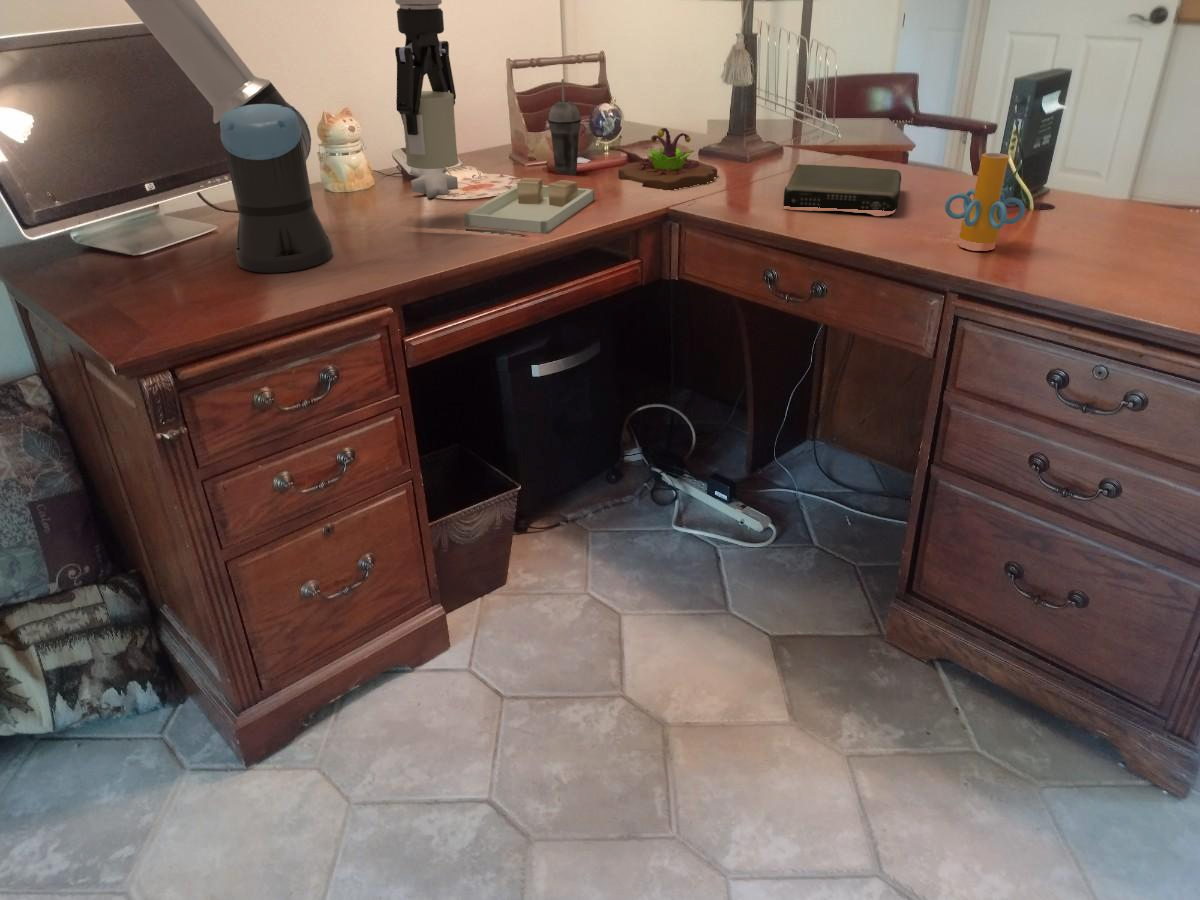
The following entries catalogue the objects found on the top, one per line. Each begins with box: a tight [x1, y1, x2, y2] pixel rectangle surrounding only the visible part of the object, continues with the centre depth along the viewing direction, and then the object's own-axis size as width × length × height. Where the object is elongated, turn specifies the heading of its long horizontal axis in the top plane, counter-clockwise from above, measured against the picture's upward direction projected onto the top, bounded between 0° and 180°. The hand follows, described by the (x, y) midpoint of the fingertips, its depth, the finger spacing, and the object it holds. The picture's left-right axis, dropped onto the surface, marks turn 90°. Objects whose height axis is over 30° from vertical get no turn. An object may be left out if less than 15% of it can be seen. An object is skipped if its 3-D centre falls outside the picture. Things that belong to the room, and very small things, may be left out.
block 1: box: [516, 177, 544, 204], centre depth 172 cm, size 4×4×4 cm
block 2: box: [547, 179, 579, 207], centre depth 170 cm, size 4×4×4 cm
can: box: [402, 90, 459, 169], centre depth 154 cm, size 9×9×12 cm
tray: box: [463, 184, 595, 237], centre depth 166 cm, size 24×16×3 cm, turn 160°
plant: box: [618, 127, 718, 191], centre depth 189 cm, size 20×20×11 cm
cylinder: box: [944, 152, 1026, 243], centre depth 144 cm, size 12×10×15 cm
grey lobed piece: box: [409, 167, 459, 199], centre depth 183 cm, size 10×5×15 cm
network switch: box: [783, 164, 902, 211], centre depth 173 cm, size 23×24×5 cm
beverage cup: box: [547, 78, 582, 177], centre depth 191 cm, size 7×7×20 cm
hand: (431, 148), depth 156 cm, fingers closed on can, 9 cm apart
